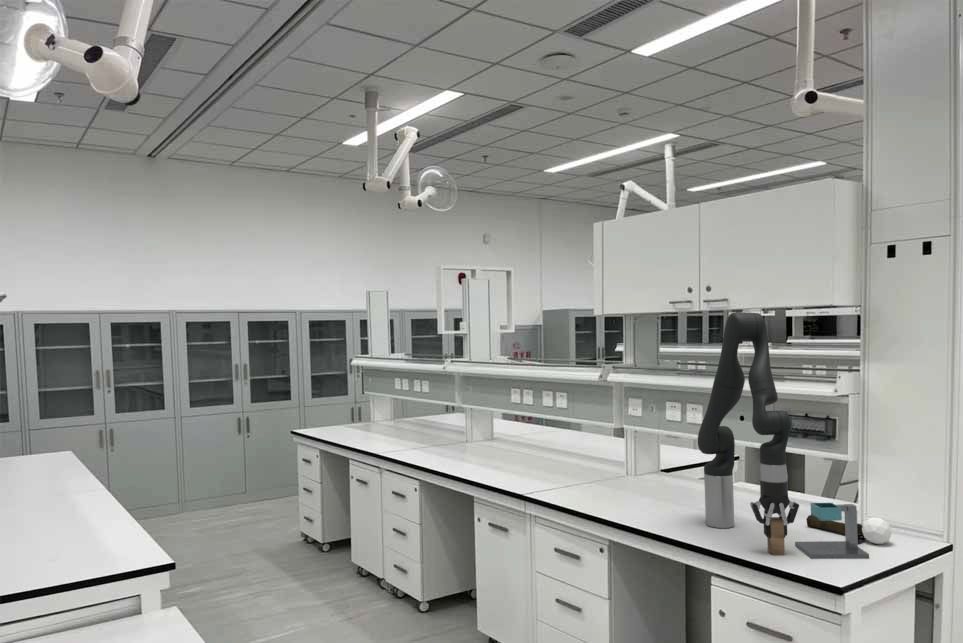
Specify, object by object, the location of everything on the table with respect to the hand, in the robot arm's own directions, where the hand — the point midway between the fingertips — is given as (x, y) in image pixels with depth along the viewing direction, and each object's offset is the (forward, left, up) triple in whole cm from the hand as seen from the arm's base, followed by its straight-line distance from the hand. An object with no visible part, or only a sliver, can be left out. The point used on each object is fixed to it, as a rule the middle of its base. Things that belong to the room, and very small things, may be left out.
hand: (775, 536), depth 201 cm
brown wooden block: (0, 0, -5) cm, 5 cm away
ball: (-9, +33, -5) cm, 35 cm away
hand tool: (-20, +26, -5) cm, 34 cm away
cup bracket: (-1, +15, -5) cm, 16 cm away
